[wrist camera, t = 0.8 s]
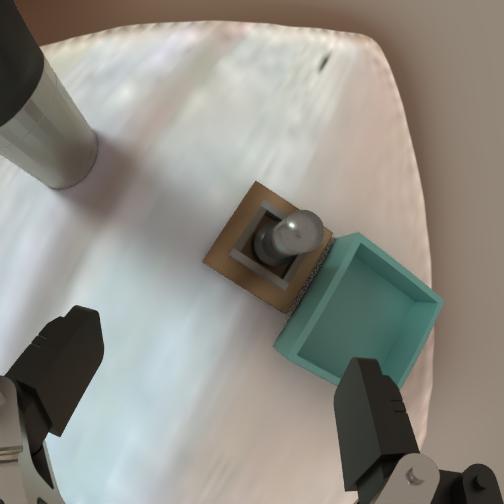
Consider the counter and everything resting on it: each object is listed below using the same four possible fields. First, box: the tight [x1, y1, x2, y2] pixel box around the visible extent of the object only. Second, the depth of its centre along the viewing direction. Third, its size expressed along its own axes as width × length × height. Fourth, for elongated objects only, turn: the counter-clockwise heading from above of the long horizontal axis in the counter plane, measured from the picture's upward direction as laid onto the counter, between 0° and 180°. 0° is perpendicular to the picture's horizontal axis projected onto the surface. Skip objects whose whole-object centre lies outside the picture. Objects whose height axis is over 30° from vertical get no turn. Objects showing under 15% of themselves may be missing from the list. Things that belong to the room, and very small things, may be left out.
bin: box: [273, 232, 444, 391], centre depth 35 cm, size 15×15×6 cm
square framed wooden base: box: [203, 181, 333, 314], centre depth 35 cm, size 11×11×3 cm
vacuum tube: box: [251, 210, 324, 267], centre depth 30 cm, size 5×5×12 cm
